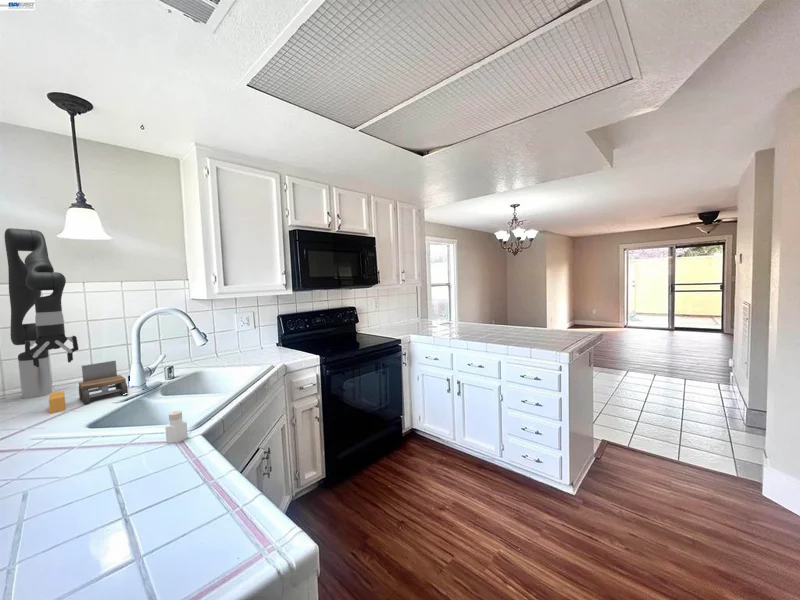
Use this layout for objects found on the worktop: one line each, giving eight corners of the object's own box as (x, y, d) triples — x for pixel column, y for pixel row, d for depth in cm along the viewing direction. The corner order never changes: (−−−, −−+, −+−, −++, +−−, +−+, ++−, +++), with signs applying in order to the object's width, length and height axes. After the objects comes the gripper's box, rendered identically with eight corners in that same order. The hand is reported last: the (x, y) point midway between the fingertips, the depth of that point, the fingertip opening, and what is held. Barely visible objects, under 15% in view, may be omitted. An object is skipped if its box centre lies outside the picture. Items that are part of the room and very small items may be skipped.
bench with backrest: (79, 398, 141) (76, 365, 141) (120, 390, 152) (117, 359, 151) (85, 406, 131) (81, 370, 131) (128, 396, 142) (125, 363, 141)
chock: (50, 415, 123) (48, 399, 123) (51, 407, 132) (49, 393, 131) (65, 412, 126) (63, 396, 126) (65, 404, 134) (63, 390, 134)
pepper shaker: (177, 448, 93) (175, 415, 93) (165, 447, 94) (163, 415, 94) (189, 441, 97) (186, 410, 97) (177, 440, 98) (175, 409, 98)
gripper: (74, 321, 135) (77, 359, 136) (21, 325, 124) (26, 367, 125) (77, 321, 130) (80, 362, 131) (22, 326, 119) (26, 370, 120)
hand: (53, 364), depth 128 cm, fingers open, 8 cm apart
